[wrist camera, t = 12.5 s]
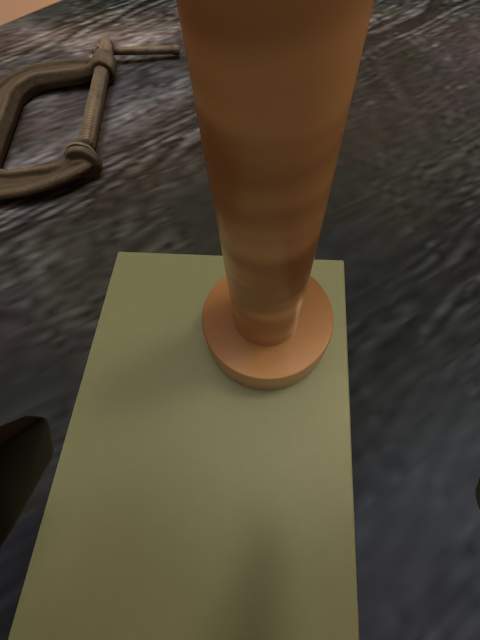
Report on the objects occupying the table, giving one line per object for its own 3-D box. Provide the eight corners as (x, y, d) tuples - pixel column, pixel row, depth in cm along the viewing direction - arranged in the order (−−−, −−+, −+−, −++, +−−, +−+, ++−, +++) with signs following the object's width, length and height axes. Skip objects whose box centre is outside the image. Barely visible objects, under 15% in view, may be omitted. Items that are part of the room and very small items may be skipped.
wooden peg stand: (351, 348, 17) (717, -189, 3) (248, 415, 16) (157, 36, 2) (281, 263, 19) (326, -260, 6) (187, 316, 18) (-39, -164, 5)
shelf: (340, 716, 14) (365, 792, 11) (45, 669, 15) (-18, 724, 12) (331, 293, 22) (344, 260, 19) (139, 284, 24) (118, 251, 20)
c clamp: (20, 59, 36) (2, 29, 34) (181, 53, 35) (175, 21, 32) (-60, 209, 28) (-91, 182, 25) (149, 208, 26) (137, 180, 24)
